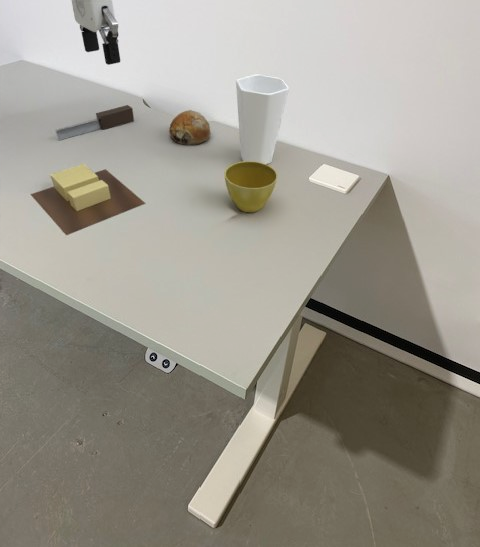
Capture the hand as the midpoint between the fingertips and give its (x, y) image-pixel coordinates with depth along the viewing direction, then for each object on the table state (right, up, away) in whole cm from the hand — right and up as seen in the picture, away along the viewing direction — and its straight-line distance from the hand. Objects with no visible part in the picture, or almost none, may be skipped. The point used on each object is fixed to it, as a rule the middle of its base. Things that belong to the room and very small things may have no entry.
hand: (102, 56), depth 92 cm
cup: (+34, -21, +7) cm, 40 cm away
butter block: (-2, -31, -8) cm, 32 cm away
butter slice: (+2, -34, -11) cm, 36 cm away
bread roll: (+18, -13, +13) cm, 26 cm away
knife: (-6, -11, +14) cm, 19 cm away
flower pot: (+32, -34, -7) cm, 47 cm away
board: (+1, -34, -10) cm, 35 cm away
